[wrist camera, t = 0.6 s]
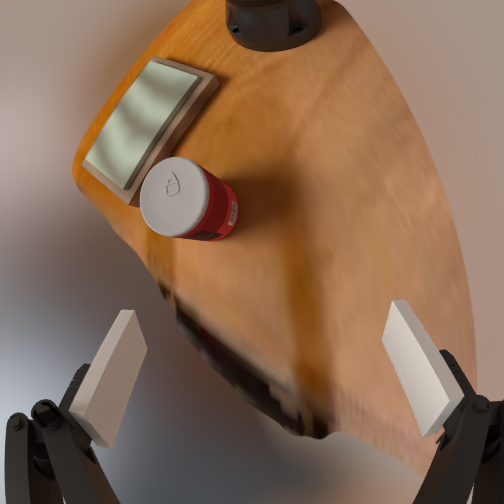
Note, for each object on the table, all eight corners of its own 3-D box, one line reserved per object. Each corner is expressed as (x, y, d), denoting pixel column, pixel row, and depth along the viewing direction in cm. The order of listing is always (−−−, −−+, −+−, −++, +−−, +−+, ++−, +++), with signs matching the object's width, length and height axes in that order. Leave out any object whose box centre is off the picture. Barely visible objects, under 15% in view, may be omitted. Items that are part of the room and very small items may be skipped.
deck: (160, 62, 41) (150, 52, 38) (220, 83, 38) (211, 71, 35) (90, 168, 44) (77, 163, 40) (138, 207, 41) (123, 203, 37)
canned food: (223, 170, 38) (185, 141, 27) (252, 221, 36) (221, 207, 26) (177, 202, 39) (128, 185, 28) (202, 252, 38) (157, 251, 27)
